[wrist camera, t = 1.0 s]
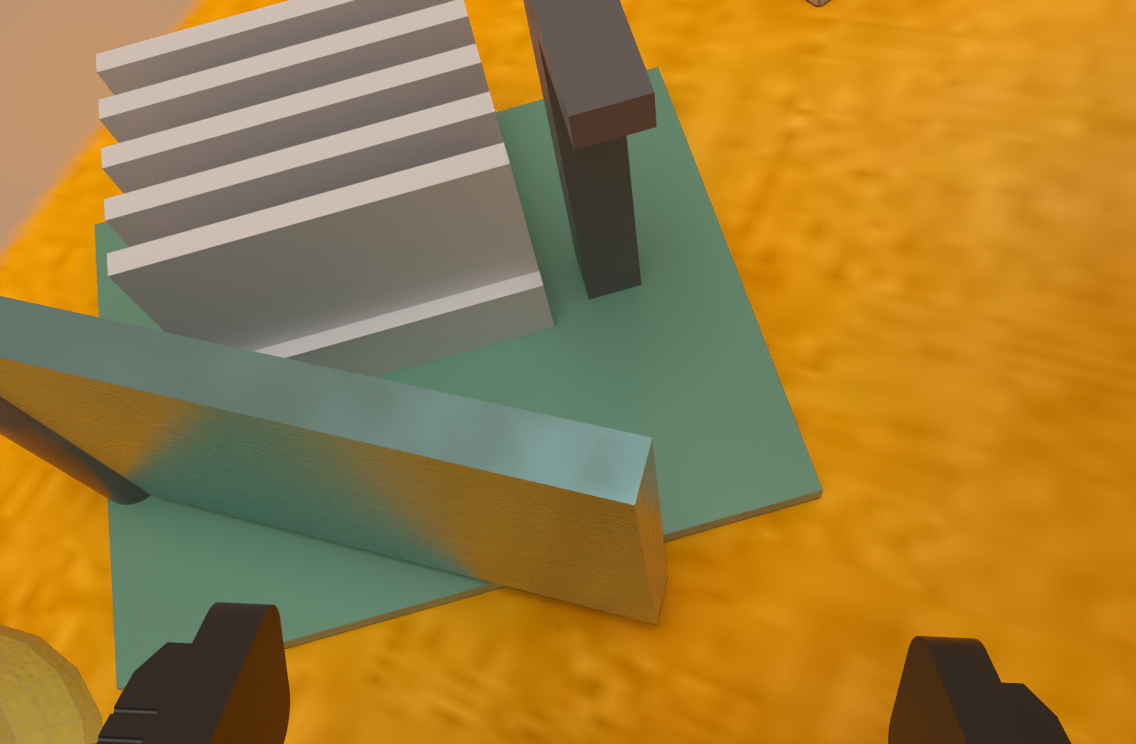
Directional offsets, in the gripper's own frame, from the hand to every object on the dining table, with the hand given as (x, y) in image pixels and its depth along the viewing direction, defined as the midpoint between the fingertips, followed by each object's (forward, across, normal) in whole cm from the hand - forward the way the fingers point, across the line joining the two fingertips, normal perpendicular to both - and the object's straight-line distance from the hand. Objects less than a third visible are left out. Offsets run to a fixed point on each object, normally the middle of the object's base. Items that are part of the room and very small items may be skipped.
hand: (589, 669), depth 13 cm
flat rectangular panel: (+17, +6, +11) cm, 21 cm away
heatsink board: (+24, +6, +8) cm, 26 cm away
